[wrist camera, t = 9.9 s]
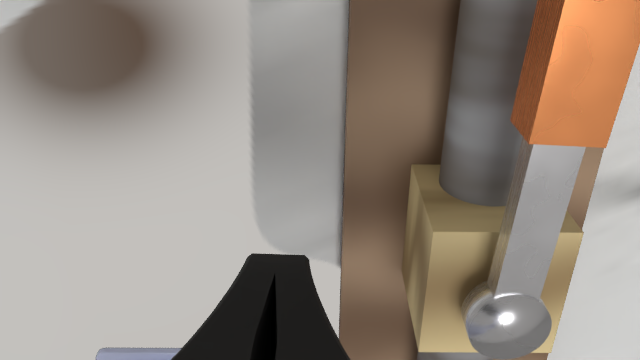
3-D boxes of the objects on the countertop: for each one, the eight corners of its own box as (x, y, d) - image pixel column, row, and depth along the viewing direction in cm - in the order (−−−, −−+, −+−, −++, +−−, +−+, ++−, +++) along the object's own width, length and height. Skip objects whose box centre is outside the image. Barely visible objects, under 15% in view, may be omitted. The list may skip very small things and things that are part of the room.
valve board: (524, 402, 30) (569, 517, 24) (336, 401, 30) (340, 515, 24) (654, -102, 19) (790, -95, 13) (352, -105, 19) (366, -98, 13)
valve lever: (527, 332, 19) (543, 368, 18) (453, 329, 19) (463, 364, 18) (649, -69, 13) (687, -64, 12) (541, -76, 13) (568, -70, 12)
